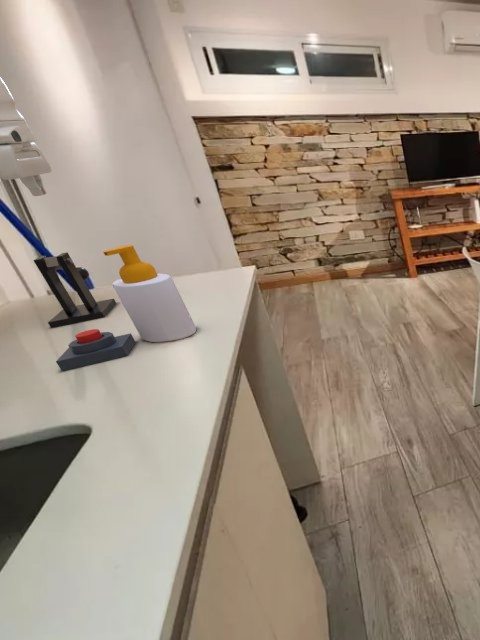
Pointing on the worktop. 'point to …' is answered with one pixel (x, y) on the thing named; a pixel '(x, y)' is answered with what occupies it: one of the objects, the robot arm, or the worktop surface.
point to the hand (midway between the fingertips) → (40, 195)
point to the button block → (95, 351)
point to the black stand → (70, 311)
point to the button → (88, 336)
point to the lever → (55, 265)
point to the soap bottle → (151, 299)
